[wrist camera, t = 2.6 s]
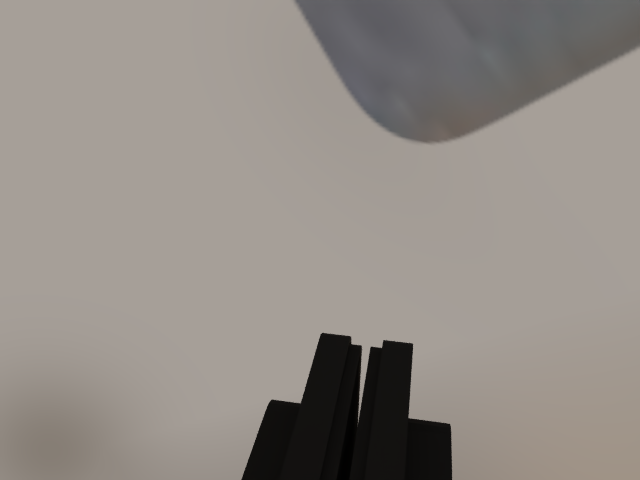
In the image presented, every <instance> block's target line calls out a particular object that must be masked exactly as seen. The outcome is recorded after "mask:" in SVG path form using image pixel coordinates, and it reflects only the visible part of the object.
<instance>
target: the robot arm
mask: <svg viewBox="0 0 640 480" xmlns="http://www.w3.org/2000/svg"><path fill="white" fill-rule="evenodd" d="M361 353H362V346H361V345H352V344H351V337H350V336H344V335H335V334H327V333H322V334H321V336H320V339H319V342H318V345H317V349H316V352H315V356H314V359H313V363H312V367H311V370H310V374H309V377H308V380H307V384H306V387H305V391H304V394H303V398H302V401H301V404H300V403H293V402H285V401H278V400H271V401H270V402H269V404H268V406H267V409H266V411H265V414H264V417H263V420H262V423H261V426H260V428H259V431H258V434H257V437H256V440H255V443H254V446H253V449H252V451H251V454H250V457H249V460H248V463H247V466H246V468H245V471H244V474H243V477H242V480H452V456H451V453H452V452H451V426H450V424H447V423H440V422H432V421H425V420H417V419H410V418H408V414H409V400H410V385H411V369H412V354H413V344H412V343H403V342H395V341H385V340H384V341H383V346H382V348H377V347H371V348H370V354H369V361H368V367H367V373H366V379H365V385H364V391H363V397H362V403H361V410H360V416H359V422H358V409H359V391H360V373H361V355H362V354H361Z"/></svg>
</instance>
